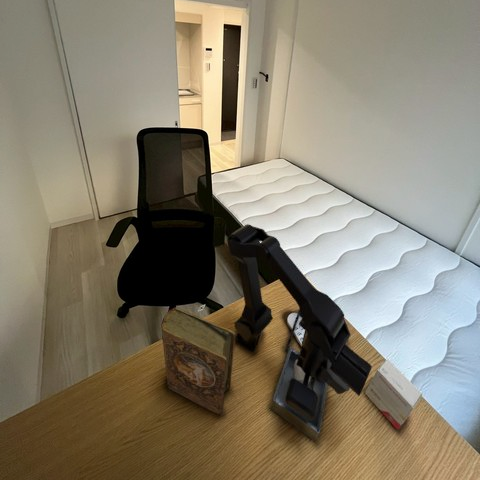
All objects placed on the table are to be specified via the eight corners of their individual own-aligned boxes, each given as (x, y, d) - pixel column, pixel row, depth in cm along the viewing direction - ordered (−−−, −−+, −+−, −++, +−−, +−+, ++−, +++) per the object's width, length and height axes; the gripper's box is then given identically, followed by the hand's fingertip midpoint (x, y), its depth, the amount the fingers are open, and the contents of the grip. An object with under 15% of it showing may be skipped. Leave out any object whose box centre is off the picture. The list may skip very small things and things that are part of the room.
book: (164, 385, 64) (157, 327, 53) (175, 362, 68) (171, 305, 58) (221, 416, 59) (226, 359, 49) (229, 389, 64) (236, 332, 53)
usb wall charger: (308, 369, 65) (311, 361, 64) (312, 404, 59) (316, 396, 57) (293, 367, 66) (296, 359, 64) (296, 400, 59) (298, 392, 58)
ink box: (406, 417, 62) (424, 394, 57) (396, 432, 59) (415, 409, 54) (373, 380, 68) (387, 357, 63) (363, 392, 65) (377, 369, 60)
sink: (270, 408, 61) (272, 399, 59) (287, 355, 72) (289, 346, 70) (315, 441, 56) (319, 433, 55) (326, 380, 67) (330, 371, 65)
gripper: (348, 422, 44) (328, 454, 51) (357, 329, 59) (341, 364, 66) (290, 382, 49) (279, 417, 56) (312, 306, 64) (301, 340, 71)
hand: (303, 382), depth 62 cm, fingers closed on usb wall charger, 7 cm apart
